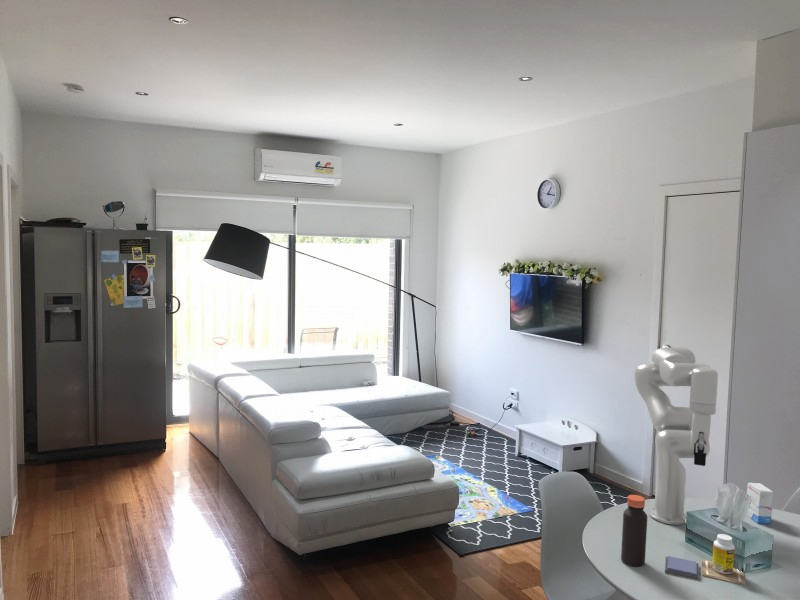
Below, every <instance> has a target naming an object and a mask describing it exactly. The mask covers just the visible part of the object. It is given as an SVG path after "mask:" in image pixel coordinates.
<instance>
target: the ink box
mask: <svg viewBox="0 0 800 600" xmlns="http://www.w3.org/2000/svg"><path fill="white" fill-rule="evenodd" d="M746 489H747V490H746V495H747V494H748V495H749V496H751V498H752V502H751V504H750V505H749V509H748V514H747V515H746V516H747V517H748V518H750V519H751V520H752V521H754V522H755V523H756V524H763V525H764V524H766V525H767V524H771V522H772V515H773V514H772V513H773V504H774V503H773V502H774V492H773V490H771V489H770V488H768V487H767V486H765V485H763V484H762V483H759V482H758V483H757V482H748V483H747V488H746Z"/></svg>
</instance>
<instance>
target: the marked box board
mask: <svg viewBox="0 0 800 600" xmlns="http://www.w3.org/2000/svg"><path fill="white" fill-rule="evenodd" d="M701 573H702V574H701V575H702V577H704V578H705V577H706V578H709V579H714V580H717V581H724V582H729V583H732V584H737V585H742V586H746V579H745V574H744V571H743V572H742V571H739V570H738V569H735V568H733V572H732V573H731V574H722V573H719V572H717V571H715V570H714V569H713V568H712V560H710V559H707V558H701Z"/></svg>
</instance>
